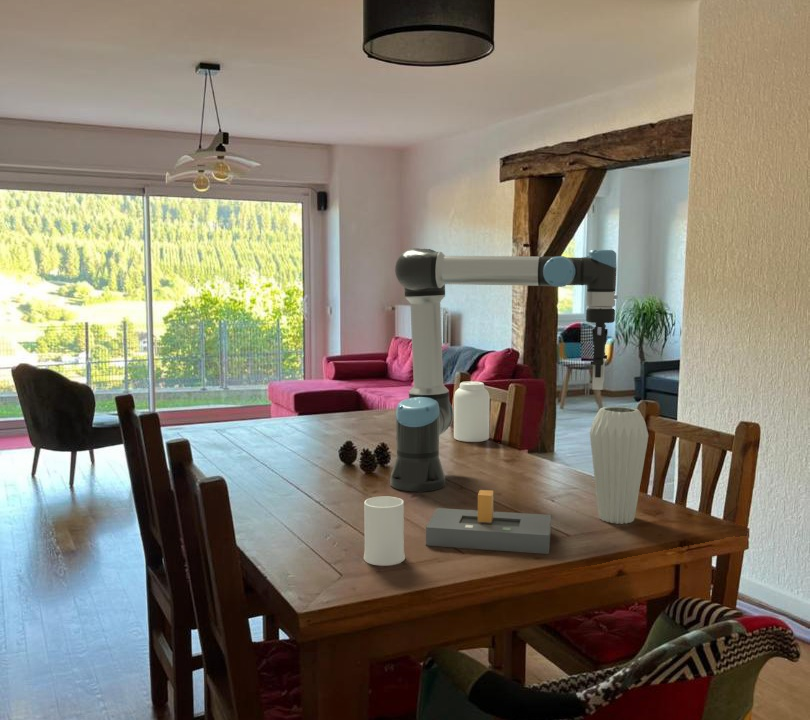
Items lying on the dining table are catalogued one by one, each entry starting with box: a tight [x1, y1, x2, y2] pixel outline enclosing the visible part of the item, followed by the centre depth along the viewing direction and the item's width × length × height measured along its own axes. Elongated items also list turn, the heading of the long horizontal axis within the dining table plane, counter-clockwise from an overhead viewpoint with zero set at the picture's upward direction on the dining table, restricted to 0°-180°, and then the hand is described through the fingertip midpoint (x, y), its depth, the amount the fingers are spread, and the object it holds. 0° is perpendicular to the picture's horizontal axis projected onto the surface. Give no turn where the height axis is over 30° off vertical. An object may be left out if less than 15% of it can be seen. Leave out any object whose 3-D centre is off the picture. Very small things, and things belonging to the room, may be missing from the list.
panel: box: [425, 507, 552, 555], centre depth 174 cm, size 26×14×4 cm, turn 78°
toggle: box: [477, 489, 494, 523], centre depth 173 cm, size 3×4×6 cm
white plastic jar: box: [453, 380, 491, 443], centre depth 275 cm, size 12×12×20 cm
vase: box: [589, 405, 650, 525], centre depth 186 cm, size 13×13×26 cm
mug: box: [363, 495, 406, 567], centre depth 163 cm, size 12×8×12 cm
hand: (598, 385), depth 215 cm, fingers open, 13 cm apart
